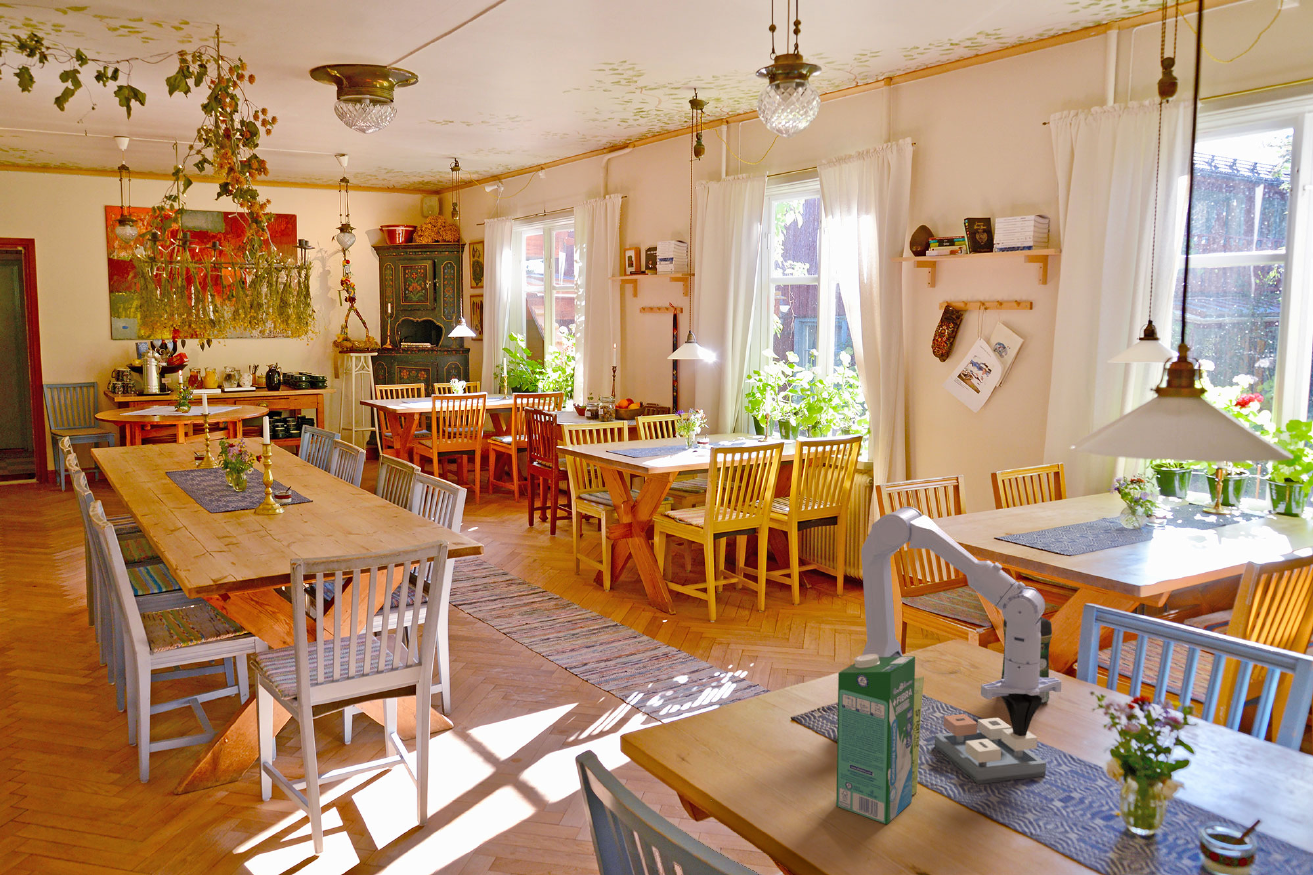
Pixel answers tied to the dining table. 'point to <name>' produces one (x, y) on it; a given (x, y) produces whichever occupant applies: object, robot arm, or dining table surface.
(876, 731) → the milk carton
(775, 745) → the dining table surface
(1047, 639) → the coffee jar
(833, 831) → the dining table surface
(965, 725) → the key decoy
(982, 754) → the key
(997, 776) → the keypad base
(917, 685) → the tube
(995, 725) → the key
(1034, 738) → the key
